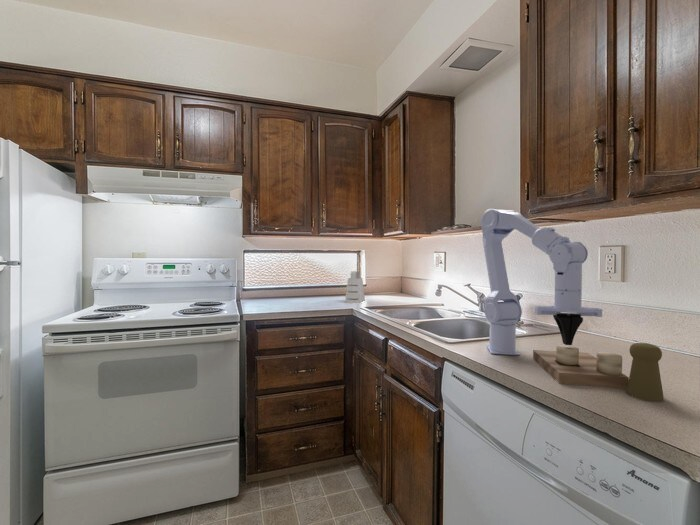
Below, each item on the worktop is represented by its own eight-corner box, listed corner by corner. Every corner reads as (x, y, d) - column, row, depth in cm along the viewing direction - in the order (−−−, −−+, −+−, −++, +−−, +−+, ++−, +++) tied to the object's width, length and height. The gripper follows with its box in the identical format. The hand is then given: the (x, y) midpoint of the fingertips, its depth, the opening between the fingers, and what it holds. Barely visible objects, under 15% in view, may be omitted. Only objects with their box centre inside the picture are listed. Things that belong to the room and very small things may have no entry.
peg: (553, 369, 90) (553, 344, 90) (574, 371, 89) (574, 346, 89) (559, 375, 85) (559, 349, 85) (581, 377, 84) (582, 350, 84)
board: (533, 358, 100) (533, 336, 100) (587, 361, 97) (587, 338, 97) (559, 383, 80) (559, 355, 80) (628, 388, 77) (628, 359, 77)
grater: (344, 303, 220) (344, 271, 220) (349, 301, 230) (350, 271, 230) (360, 303, 217) (360, 271, 216) (365, 301, 227) (365, 271, 226)
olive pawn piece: (626, 388, 77) (627, 339, 77) (663, 395, 74) (663, 343, 73) (626, 396, 73) (627, 344, 72) (665, 404, 69) (665, 349, 69)
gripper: (541, 291, 84) (540, 346, 85) (609, 292, 81) (608, 350, 81) (532, 288, 91) (532, 339, 91) (594, 289, 88) (594, 342, 88)
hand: (567, 344), depth 87 cm, fingers closed
